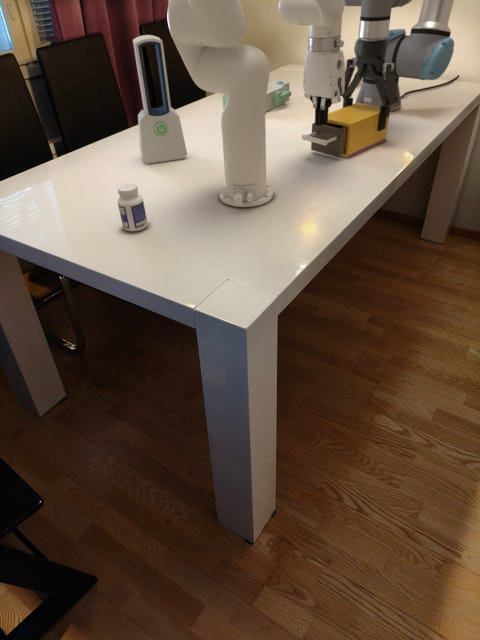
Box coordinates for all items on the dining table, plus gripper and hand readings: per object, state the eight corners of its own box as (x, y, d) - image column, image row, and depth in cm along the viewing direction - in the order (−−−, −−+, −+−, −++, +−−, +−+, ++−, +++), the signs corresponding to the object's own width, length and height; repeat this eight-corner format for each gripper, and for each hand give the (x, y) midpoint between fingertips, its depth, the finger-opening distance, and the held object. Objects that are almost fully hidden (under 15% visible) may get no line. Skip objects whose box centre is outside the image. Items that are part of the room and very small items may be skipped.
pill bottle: (149, 220, 107) (142, 181, 102) (146, 231, 103) (138, 191, 98) (125, 221, 107) (116, 182, 102) (121, 232, 103) (112, 193, 98)
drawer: (326, 163, 127) (328, 135, 123) (298, 155, 133) (299, 128, 128) (375, 141, 139) (379, 115, 134) (348, 134, 144) (350, 109, 140)
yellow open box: (347, 158, 132) (350, 124, 126) (316, 149, 138) (317, 117, 133) (385, 140, 141) (390, 108, 136) (354, 133, 148) (357, 102, 142)
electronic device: (143, 164, 135) (122, 41, 116) (140, 155, 141) (120, 37, 122) (187, 158, 137) (173, 36, 119) (183, 149, 143) (169, 32, 124)
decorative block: (254, 76, 186) (299, 81, 176) (254, 94, 190) (299, 100, 180) (212, 92, 170) (260, 98, 160) (214, 111, 174) (260, 118, 164)
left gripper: (360, 44, 112) (353, 125, 124) (310, 39, 121) (308, 115, 133) (340, 50, 109) (335, 133, 120) (290, 44, 118) (289, 122, 129)
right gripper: (421, 39, 121) (407, 130, 135) (345, 33, 135) (339, 116, 149) (405, 44, 118) (392, 137, 131) (328, 37, 131) (323, 121, 145)
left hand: (321, 124), depth 126 cm, fingers closed
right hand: (363, 126), depth 140 cm, fingers closed on yellow open box, 11 cm apart
